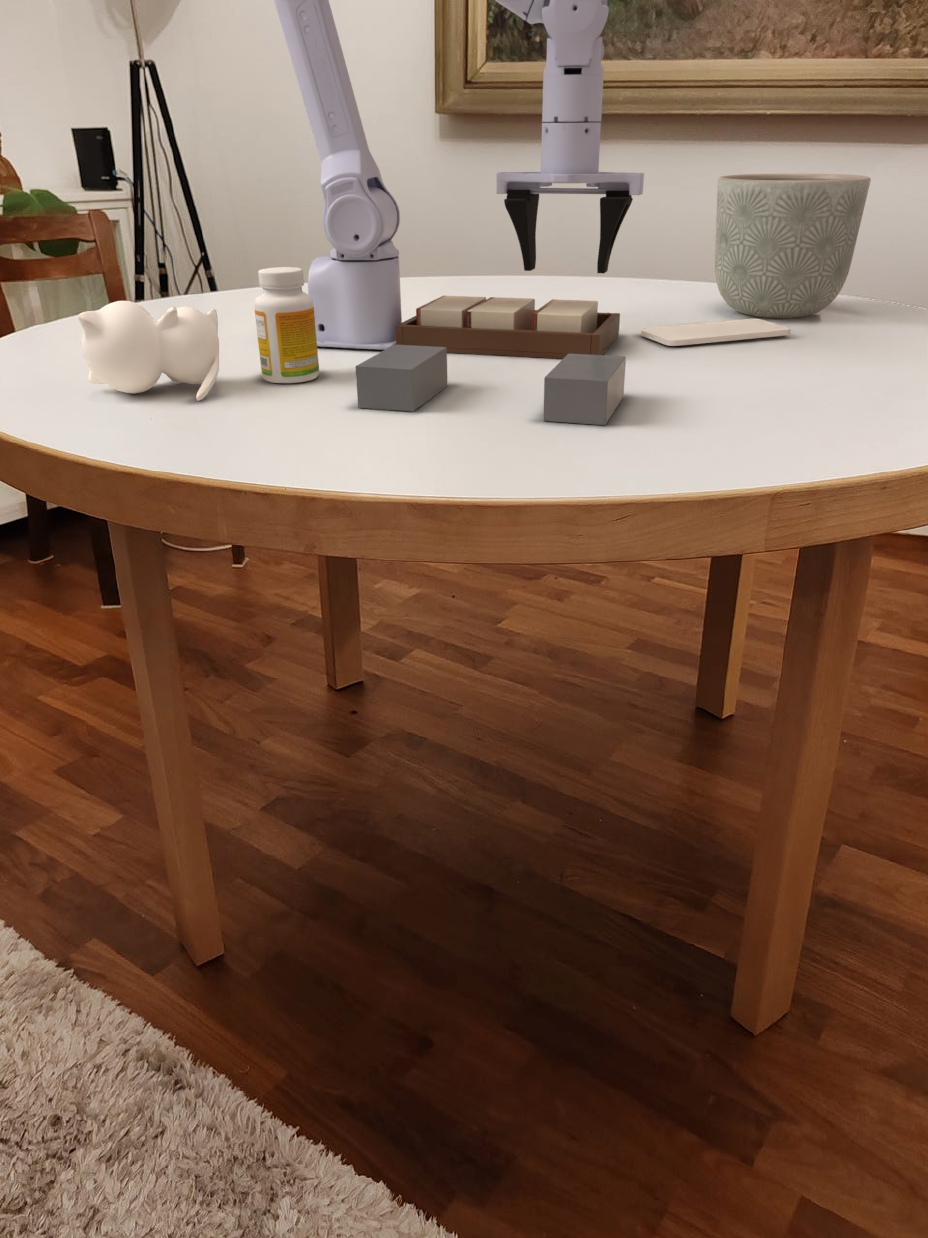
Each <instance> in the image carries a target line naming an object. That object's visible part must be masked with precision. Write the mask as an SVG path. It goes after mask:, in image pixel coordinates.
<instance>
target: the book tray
mask: <svg viewBox="0 0 928 1238" xmlns="http://www.w3.org/2000/svg"><path fill="white" fill-rule="evenodd" d="M537 310H538V309H535V311H537ZM620 323H621V313H620V312H613V313H612V312H597V330H596V331H595V332H594V333H575V332H553V331H531V330H508V329H486V328H464V327H442V326H420V325H417V321H416V315H414V316H412V317H410V318H408V319H406V320H405V321H402V323H400V324H398V325H396V345H413V346H433V347H447V354H449V353H451V354H464V355H465V354H467V355H485V356H486V355H487V356H503V357H504V356H505V357H522V358H523V357H524V358H540V359H541V358H542V359H543V358H544V359H561V360H563V359H564V358H565V357H566V356H567V355H568V354H587V355H604V354H605V353H606V352H607V351H608V349H609V348H610V347H611V346H612V345H613V344H614V342H616V340H617V339H618V338H619V337H620Z"/></svg>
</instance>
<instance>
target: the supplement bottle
mask: <svg viewBox="0 0 928 1238" xmlns="http://www.w3.org/2000/svg"><path fill="white" fill-rule="evenodd" d="M257 274H258V284H259V287H260V288H261V289H262V293H261V294H259V295H257V296H256V298H255V299H254V302H253V303H254V304H253V306H254V316H255V324H256V325H255V326H256V335H257V343H258V352H259V361H260V369H261V376H262V378H263V380H265V381H266V382H268V383H272V384H297V383H304V382H310V381H313V380H315V379H316V378H318V377H319V374H320V364H319V362H320V361H319V354H318V352H319V351H318V346H317V339H316V328H315V316H314V305H313V300H312V298H311V296H310V295H308V292H304V291H303V286H304V285H305V278H304V270H303V268H302V267H295V266H280V267H279V266H278V267H267V268H261V269H259V270H258V273H257Z"/></svg>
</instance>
